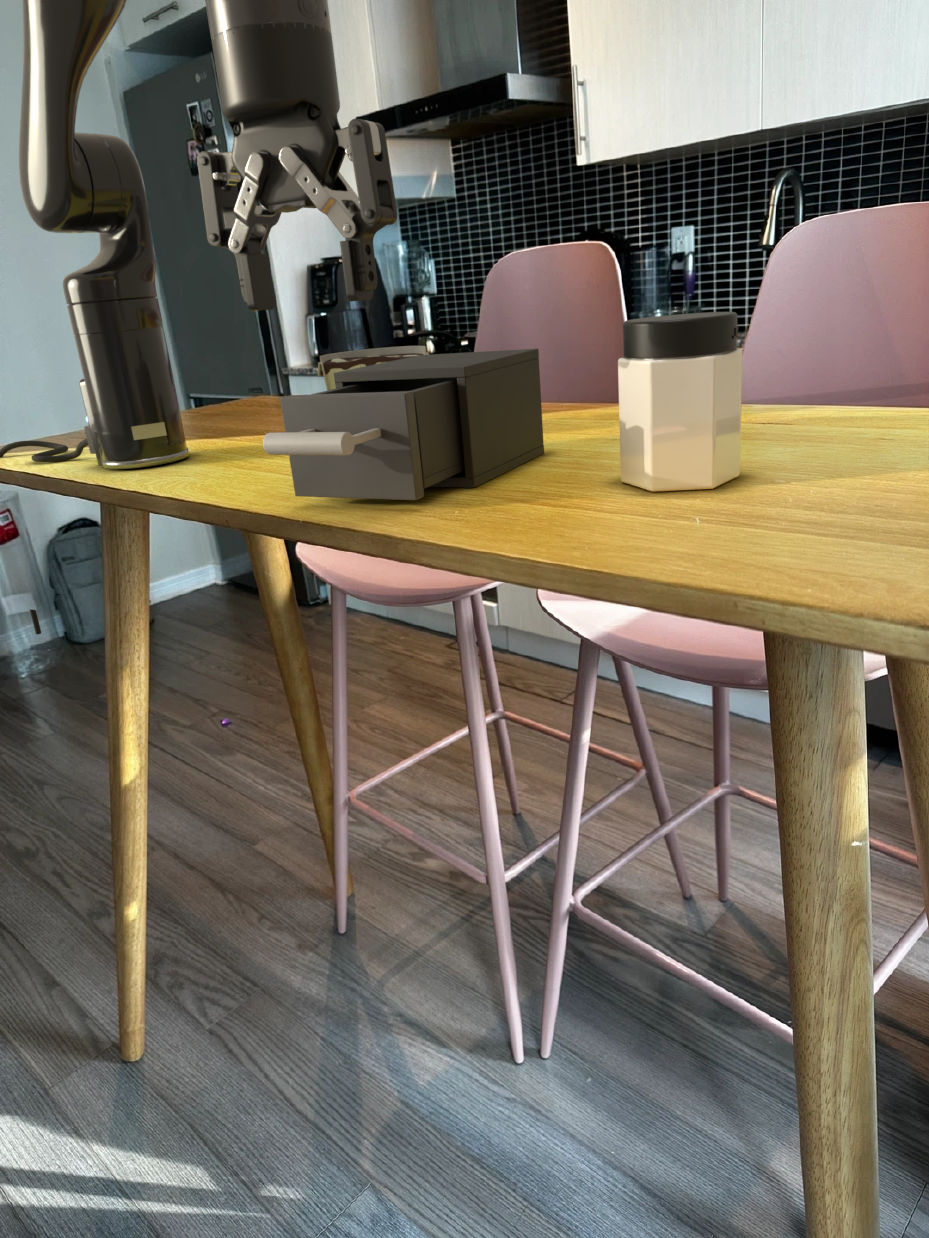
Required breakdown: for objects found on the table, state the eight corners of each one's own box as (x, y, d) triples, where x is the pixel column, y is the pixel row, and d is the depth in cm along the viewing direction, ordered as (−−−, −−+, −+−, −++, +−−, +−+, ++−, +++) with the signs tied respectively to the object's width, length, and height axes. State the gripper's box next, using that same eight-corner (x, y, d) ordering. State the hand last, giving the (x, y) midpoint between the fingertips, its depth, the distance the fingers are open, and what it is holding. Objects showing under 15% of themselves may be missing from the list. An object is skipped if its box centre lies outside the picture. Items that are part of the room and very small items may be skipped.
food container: (446, 434, 101) (437, 342, 97) (439, 443, 95) (430, 346, 92) (340, 441, 102) (328, 352, 99) (328, 451, 96) (314, 356, 93)
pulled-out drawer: (377, 518, 61) (363, 404, 58) (251, 513, 66) (232, 407, 64) (495, 463, 76) (488, 371, 74) (385, 462, 82) (375, 375, 79)
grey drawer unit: (474, 488, 72) (464, 366, 69) (348, 484, 78) (333, 373, 75) (544, 453, 84) (538, 348, 81) (430, 452, 90) (420, 355, 87)
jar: (760, 481, 66) (766, 310, 61) (665, 498, 63) (664, 322, 59) (692, 463, 74) (692, 312, 69) (605, 478, 71) (600, 322, 67)
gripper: (398, 21, 55) (425, 295, 61) (226, 66, 62) (264, 310, 68) (328, -7, 49) (365, 300, 55) (145, 47, 56) (195, 316, 62)
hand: (309, 305), depth 61 cm, fingers open, 8 cm apart
